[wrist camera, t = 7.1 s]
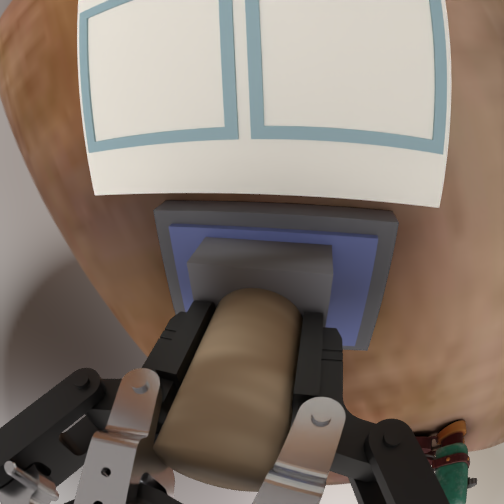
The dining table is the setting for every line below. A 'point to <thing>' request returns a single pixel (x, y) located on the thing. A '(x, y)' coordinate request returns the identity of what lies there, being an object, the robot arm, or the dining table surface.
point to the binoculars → (450, 461)
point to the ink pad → (298, 231)
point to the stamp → (244, 358)
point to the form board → (267, 97)
